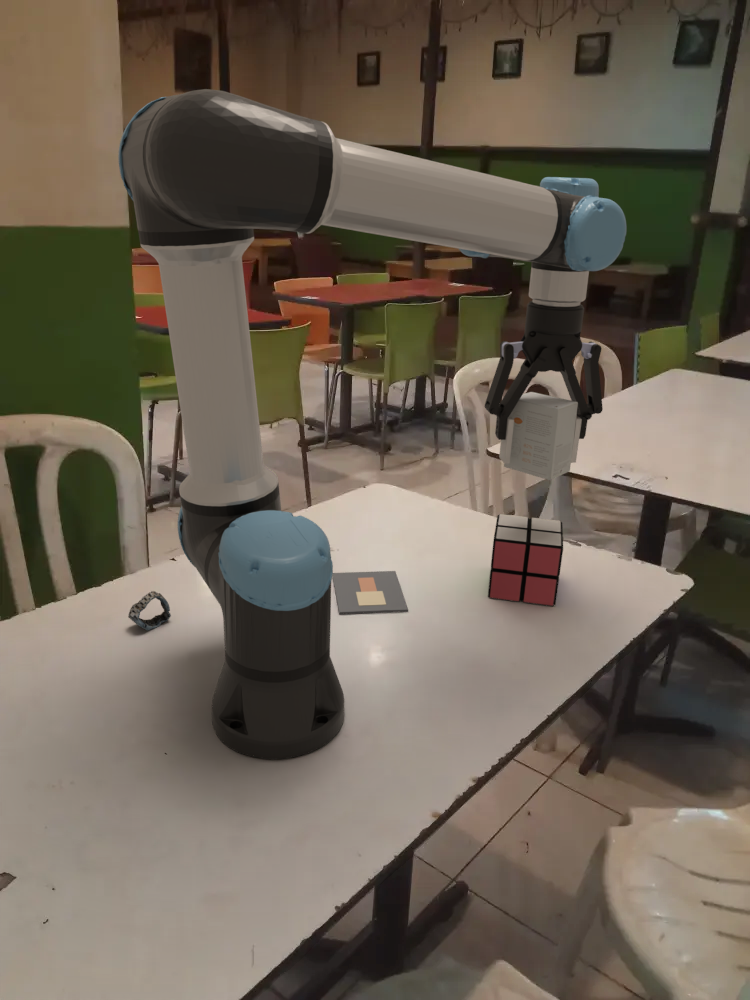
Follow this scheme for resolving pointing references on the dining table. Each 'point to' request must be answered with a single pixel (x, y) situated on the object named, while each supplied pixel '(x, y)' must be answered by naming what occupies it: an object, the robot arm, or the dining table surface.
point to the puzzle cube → (526, 560)
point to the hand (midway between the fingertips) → (537, 459)
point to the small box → (542, 435)
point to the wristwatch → (142, 605)
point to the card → (369, 592)
